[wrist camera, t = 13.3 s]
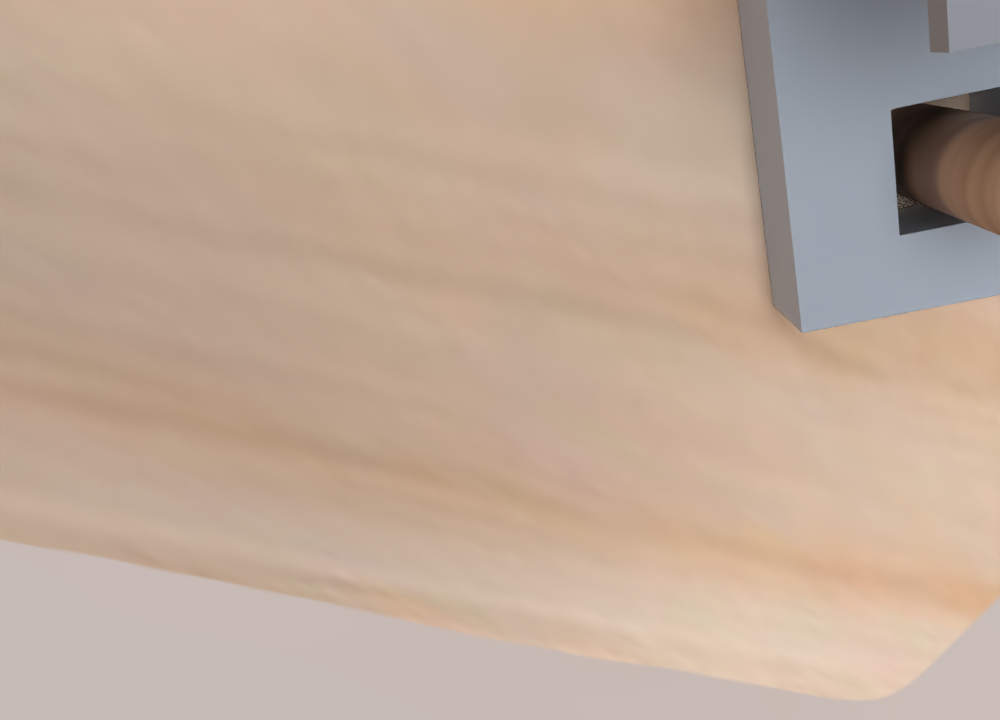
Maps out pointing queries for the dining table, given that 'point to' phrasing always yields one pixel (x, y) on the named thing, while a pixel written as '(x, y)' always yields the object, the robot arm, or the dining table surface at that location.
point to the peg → (949, 161)
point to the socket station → (862, 152)
